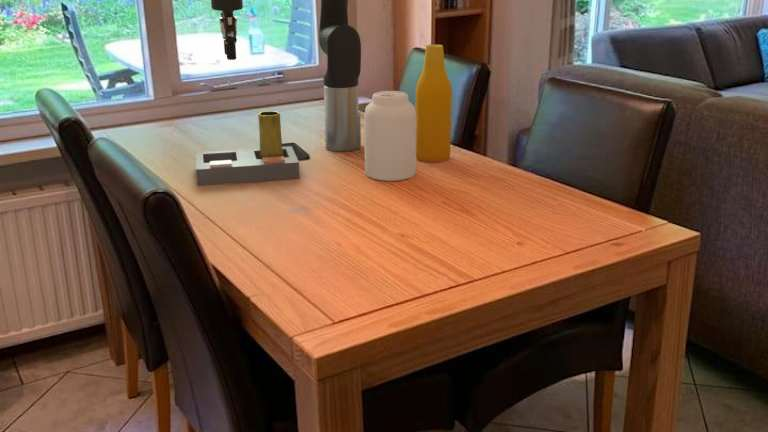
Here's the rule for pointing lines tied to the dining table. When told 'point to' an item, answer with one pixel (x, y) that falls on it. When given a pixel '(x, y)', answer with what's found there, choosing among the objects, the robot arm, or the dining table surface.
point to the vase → (270, 134)
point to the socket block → (244, 166)
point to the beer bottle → (433, 108)
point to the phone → (297, 151)
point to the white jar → (390, 137)
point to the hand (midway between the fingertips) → (230, 57)
